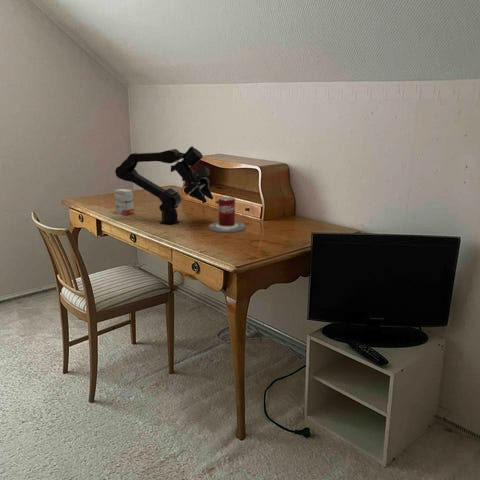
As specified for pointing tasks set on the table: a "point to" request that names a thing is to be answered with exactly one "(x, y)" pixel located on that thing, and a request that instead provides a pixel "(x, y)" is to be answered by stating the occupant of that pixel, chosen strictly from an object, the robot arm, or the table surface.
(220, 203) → the soda can
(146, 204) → the table surface
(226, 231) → the dial plate
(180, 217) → the table surface
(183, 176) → the robot arm
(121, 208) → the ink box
